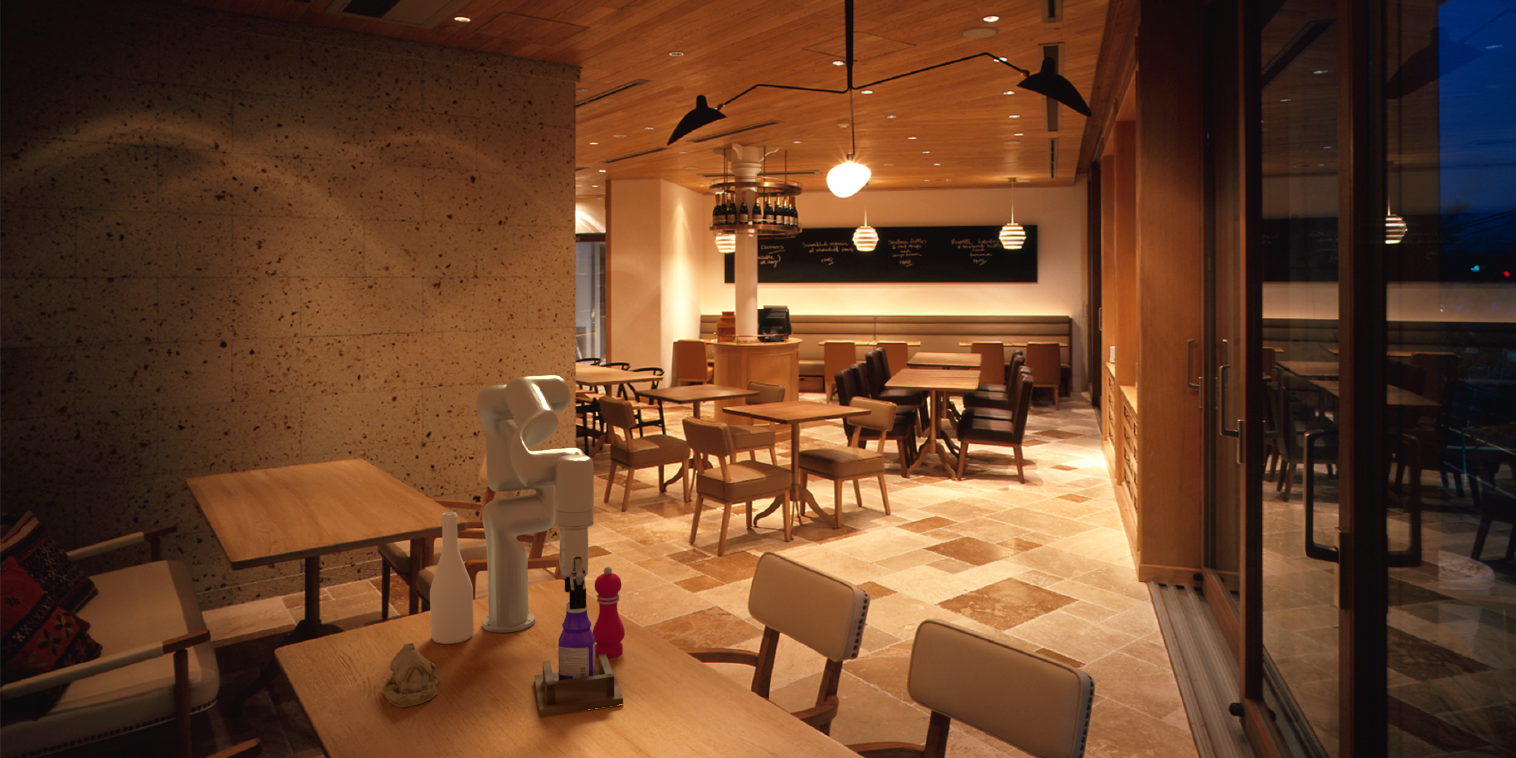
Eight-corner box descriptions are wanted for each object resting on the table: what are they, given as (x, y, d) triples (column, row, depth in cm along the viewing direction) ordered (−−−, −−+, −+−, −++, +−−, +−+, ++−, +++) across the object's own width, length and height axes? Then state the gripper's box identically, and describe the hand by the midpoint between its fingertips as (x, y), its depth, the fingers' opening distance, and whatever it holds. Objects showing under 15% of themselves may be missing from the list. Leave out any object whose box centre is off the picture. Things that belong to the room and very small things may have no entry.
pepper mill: (621, 659, 191) (620, 572, 189) (589, 659, 191) (588, 571, 189) (627, 646, 198) (626, 562, 196) (596, 646, 198) (595, 561, 197)
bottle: (598, 680, 177) (597, 598, 175) (591, 693, 171) (590, 608, 170) (563, 679, 177) (562, 597, 176) (555, 692, 172) (554, 607, 170)
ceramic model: (378, 684, 178) (376, 638, 177) (435, 672, 184) (433, 627, 183) (388, 712, 166) (386, 662, 165) (448, 698, 172) (447, 650, 171)
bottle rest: (534, 681, 179) (534, 656, 179) (611, 672, 184) (610, 647, 184) (539, 717, 164) (539, 689, 164) (623, 705, 169) (622, 678, 169)
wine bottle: (429, 633, 205) (426, 510, 203) (471, 627, 209) (468, 507, 207) (432, 648, 197) (429, 520, 194) (476, 641, 201) (472, 515, 198)
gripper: (551, 507, 178) (552, 586, 180) (559, 530, 162) (560, 617, 164) (588, 505, 181) (588, 583, 182) (599, 527, 164) (599, 613, 166)
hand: (575, 599), depth 173 cm, fingers open, 9 cm apart
